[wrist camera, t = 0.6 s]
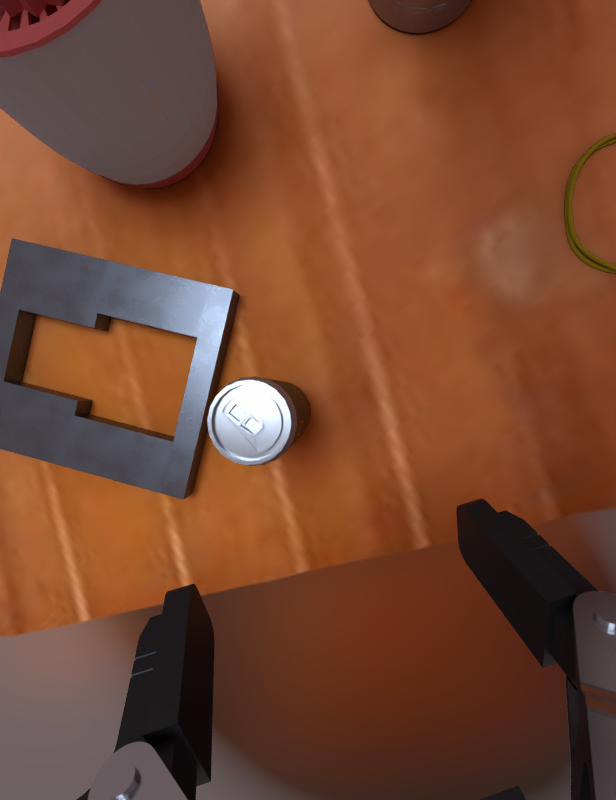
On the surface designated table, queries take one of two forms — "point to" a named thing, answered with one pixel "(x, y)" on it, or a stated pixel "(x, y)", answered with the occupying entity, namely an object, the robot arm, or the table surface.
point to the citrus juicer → (112, 83)
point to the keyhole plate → (94, 307)
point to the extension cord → (568, 211)
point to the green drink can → (257, 419)
